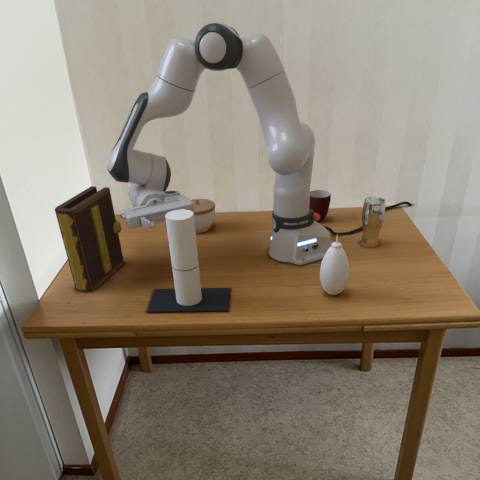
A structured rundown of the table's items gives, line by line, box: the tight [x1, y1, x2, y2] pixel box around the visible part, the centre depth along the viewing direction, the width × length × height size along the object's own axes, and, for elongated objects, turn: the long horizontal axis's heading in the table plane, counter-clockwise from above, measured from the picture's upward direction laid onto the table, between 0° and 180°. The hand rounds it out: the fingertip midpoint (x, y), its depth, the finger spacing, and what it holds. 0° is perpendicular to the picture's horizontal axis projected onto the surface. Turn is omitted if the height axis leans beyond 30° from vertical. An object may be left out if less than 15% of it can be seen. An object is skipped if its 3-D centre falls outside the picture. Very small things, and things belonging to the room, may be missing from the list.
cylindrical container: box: [165, 209, 202, 306], centre depth 131 cm, size 7×7×25 cm
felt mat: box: [146, 287, 231, 314], centre depth 138 cm, size 22×12×1 cm, turn 88°
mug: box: [309, 189, 332, 223], centre depth 178 cm, size 11×8×10 cm
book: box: [54, 185, 125, 293], centre depth 146 cm, size 22×8×25 cm, turn 162°
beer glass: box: [360, 196, 386, 248], centre depth 159 cm, size 7×7×15 cm
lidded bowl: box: [190, 198, 216, 234], centre depth 176 cm, size 13×13×11 cm
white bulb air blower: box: [319, 234, 350, 296], centre depth 133 cm, size 8×8×18 cm
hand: (168, 221), depth 136 cm, fingers open, 8 cm apart
